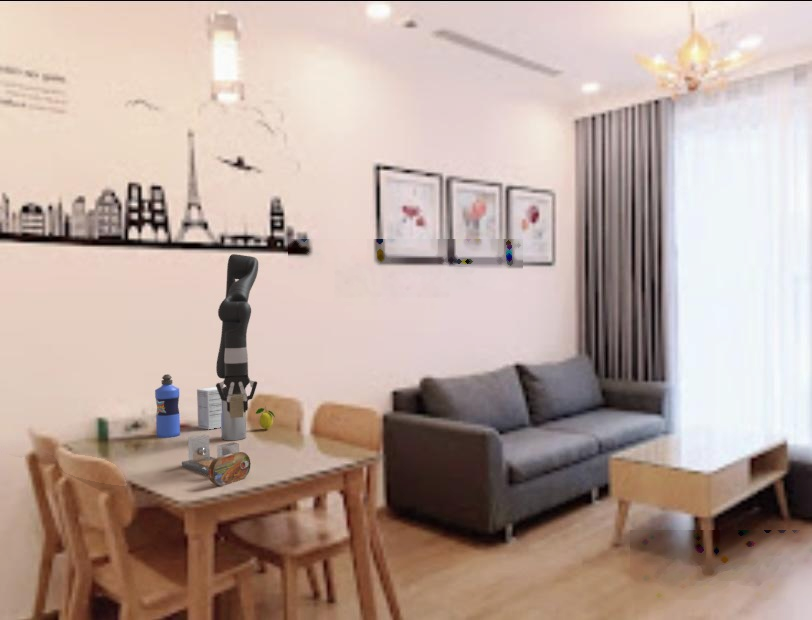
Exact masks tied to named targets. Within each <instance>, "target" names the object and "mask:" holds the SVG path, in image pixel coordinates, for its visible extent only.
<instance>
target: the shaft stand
mask: <svg viewBox="0 0 812 620" xmlns="http://www.w3.org/2000/svg"><path fill="white" fill-rule="evenodd" d="M187 442H188V443H187V444H188V460H184V461H181V467H183V468H187V469H189V470H192V471H195V472H197V473H200V474H202V475H203V474H204V475H205V474H206V476H208V475H209V466H210V464H211V462H212V461H213V460H214V459H216V458H218V457H222V456H225V455H228V454H231V453H235V452H240V443H238V442H229V443H224V444H218V445H216V448H217V449H216V450H217V451H216V454H217V455H216V456H217V457H214V456H210V455H211V454H210V453H211V452H210V451H211V450H210V449H211V447H210V435H208V434H201V435H200V434H198V435H195V436H194V435H193V436H188V441H187Z"/></svg>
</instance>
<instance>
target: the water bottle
mask: <svg viewBox="0 0 812 620" xmlns="http://www.w3.org/2000/svg"><path fill="white" fill-rule="evenodd" d="M161 379H162V380H161V386H159V387H158V388H156V389H155V390H154V398H155V402H156V414H155V415H156V416H155V417H156V419H155V420H156V422H155V425H156V427H155V428H156V437H157V438H159V439H168V438H169V439H170V438H175V437H179V436H181V423H180V422H181V421H180V419H181V418H180V410H179V409H180V408H179V400H180V388H179V387H176V386H174V385H173V379H172V376H171V375H170V374H164V375H162V377H161Z"/></svg>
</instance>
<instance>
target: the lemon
mask: <svg viewBox="0 0 812 620" xmlns="http://www.w3.org/2000/svg"><path fill="white" fill-rule="evenodd" d="M262 412H263V413H262ZM260 413H261V414H260ZM254 414H256V415H257V414H260V417H259V426H260V427H261V428H263V429H265V431H267V430H268V429H269V428H271V427H272V426H273V423H274V420H273V419H274V418H276V416H275V414H274V412H272V411H271V410H265V407H264V408H263V407H260V408H258V409H256V411H255V413H254ZM273 417H274V418H273Z"/></svg>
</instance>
